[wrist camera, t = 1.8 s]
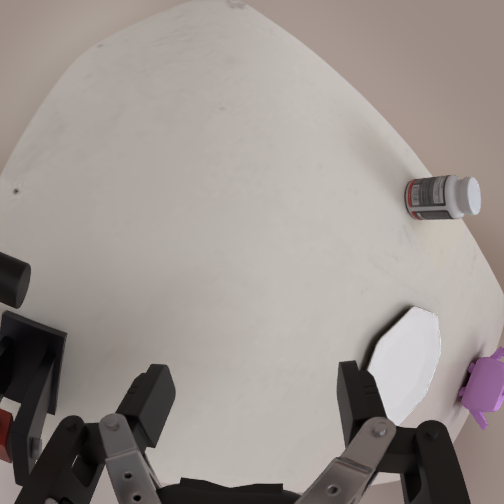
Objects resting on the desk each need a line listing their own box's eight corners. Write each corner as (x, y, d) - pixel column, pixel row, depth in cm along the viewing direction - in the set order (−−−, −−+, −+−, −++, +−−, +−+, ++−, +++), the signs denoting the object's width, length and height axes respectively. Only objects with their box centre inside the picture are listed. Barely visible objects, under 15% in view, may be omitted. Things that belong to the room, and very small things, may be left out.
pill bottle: (429, 205, 40) (485, 203, 31) (414, 227, 38) (474, 229, 29) (415, 172, 38) (473, 165, 29) (398, 193, 37) (462, 188, 28)
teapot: (476, 339, 53) (520, 350, 42) (488, 344, 58) (527, 354, 47) (444, 419, 51) (486, 437, 40) (461, 415, 57) (497, 430, 45)
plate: (338, 365, 34) (346, 369, 32) (426, 283, 41) (434, 284, 39) (364, 448, 38) (370, 452, 37) (436, 373, 45) (442, 375, 44)
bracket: (6, 309, 19) (-62, 369, 7) (67, 333, 21) (36, 415, 10) (0, 388, 18) (-43, 473, 7) (56, 408, 21) (40, 508, 9)
